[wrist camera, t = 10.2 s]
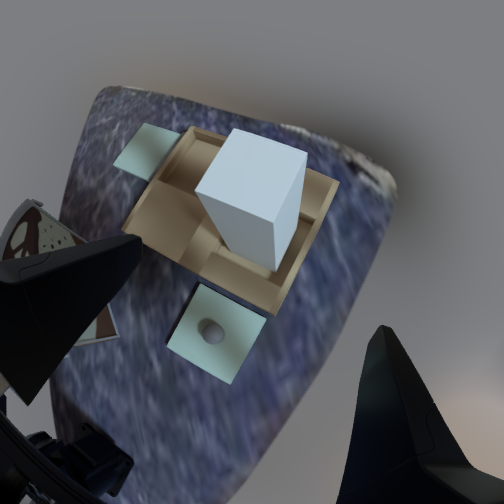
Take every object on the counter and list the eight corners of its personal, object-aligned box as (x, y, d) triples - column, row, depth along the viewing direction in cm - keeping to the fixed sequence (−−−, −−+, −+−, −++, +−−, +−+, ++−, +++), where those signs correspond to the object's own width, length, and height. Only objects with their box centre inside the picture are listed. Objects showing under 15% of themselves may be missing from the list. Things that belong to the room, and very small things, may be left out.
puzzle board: (236, 386, 21) (232, 391, 19) (58, 262, 26) (46, 257, 24) (335, 192, 25) (339, 182, 23) (148, 122, 29) (141, 111, 27)
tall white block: (275, 273, 23) (273, 222, 12) (231, 252, 24) (194, 190, 13) (296, 229, 24) (307, 152, 13) (252, 211, 25) (234, 128, 14)
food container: (52, 258, 26) (-14, 229, 16) (92, 233, 26) (27, 192, 17) (79, 370, 23) (3, 376, 13) (126, 352, 23) (49, 357, 13)
